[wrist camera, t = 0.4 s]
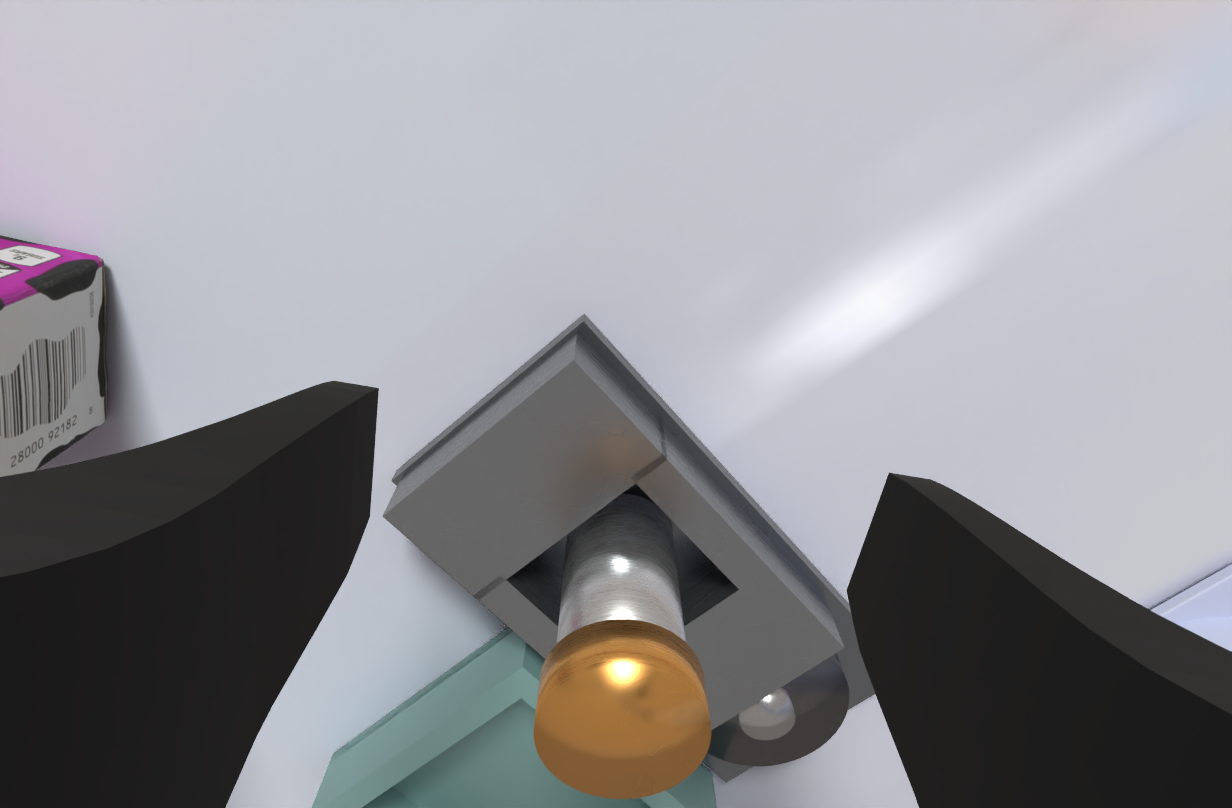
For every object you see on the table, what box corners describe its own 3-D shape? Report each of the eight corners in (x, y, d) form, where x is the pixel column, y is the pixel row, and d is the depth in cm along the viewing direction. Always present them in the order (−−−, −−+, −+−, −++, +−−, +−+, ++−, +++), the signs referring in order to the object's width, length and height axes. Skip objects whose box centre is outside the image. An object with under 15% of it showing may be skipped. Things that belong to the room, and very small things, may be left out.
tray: (712, 774, 27) (720, 837, 25) (518, 890, 30) (511, 958, 28) (530, 611, 25) (522, 667, 22) (333, 753, 27) (308, 816, 25)
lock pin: (709, 545, 23) (747, 742, 16) (612, 611, 24) (613, 823, 17) (627, 459, 22) (632, 635, 15) (530, 533, 23) (496, 728, 16)
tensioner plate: (901, 661, 25) (930, 724, 23) (724, 767, 27) (734, 836, 25) (584, 314, 21) (580, 348, 18) (397, 470, 23) (371, 520, 20)
